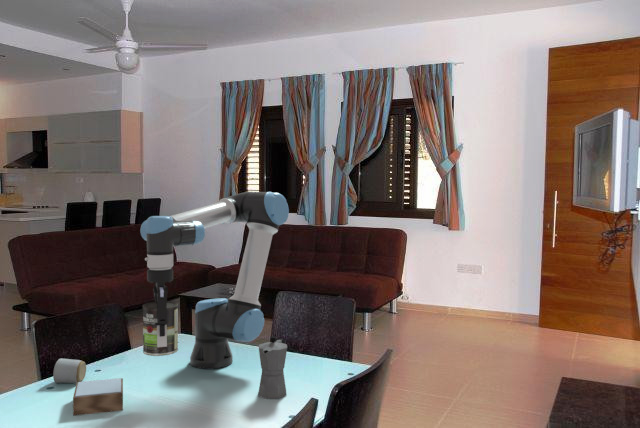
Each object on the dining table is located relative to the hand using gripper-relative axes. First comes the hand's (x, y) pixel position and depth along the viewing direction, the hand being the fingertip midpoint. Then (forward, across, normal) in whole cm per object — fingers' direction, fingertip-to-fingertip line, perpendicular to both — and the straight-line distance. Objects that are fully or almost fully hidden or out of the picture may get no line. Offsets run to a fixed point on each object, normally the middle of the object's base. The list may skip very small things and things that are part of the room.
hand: (160, 341), depth 169 cm
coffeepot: (+18, +5, +34) cm, 38 cm away
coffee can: (+3, 0, 0) cm, 3 cm away
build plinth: (+17, 0, -18) cm, 24 cm away
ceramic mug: (+18, -24, -27) cm, 40 cm away
